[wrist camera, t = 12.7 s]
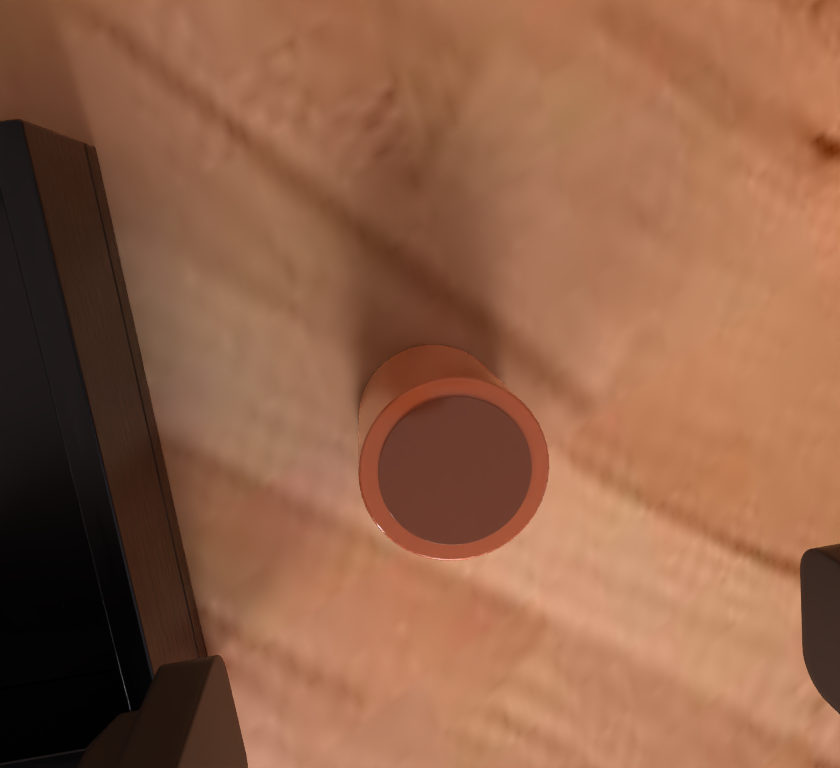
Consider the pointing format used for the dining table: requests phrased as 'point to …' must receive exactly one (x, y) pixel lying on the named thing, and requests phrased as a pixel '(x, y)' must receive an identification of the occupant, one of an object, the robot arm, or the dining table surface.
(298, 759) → the dining table surface
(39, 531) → the black open box
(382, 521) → the terracotta cup
